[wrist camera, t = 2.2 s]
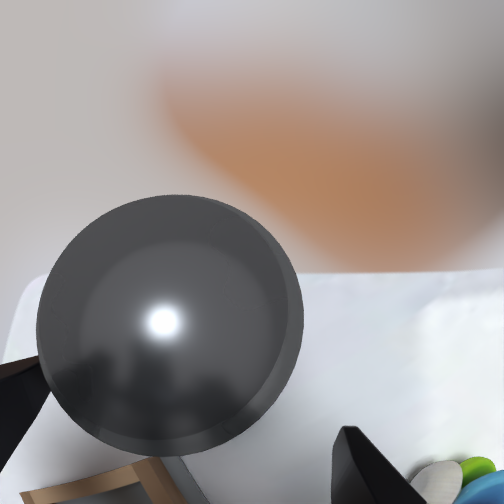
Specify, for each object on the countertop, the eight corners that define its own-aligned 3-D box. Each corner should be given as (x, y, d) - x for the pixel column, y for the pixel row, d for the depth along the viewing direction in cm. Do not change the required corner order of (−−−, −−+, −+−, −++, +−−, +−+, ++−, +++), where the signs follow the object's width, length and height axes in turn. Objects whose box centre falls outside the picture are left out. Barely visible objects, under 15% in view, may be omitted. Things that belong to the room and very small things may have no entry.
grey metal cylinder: (201, 450, 14) (79, 501, 3) (158, 370, 17) (13, 249, 5) (285, 406, 16) (376, 356, 4) (238, 330, 18) (219, 151, 7)
